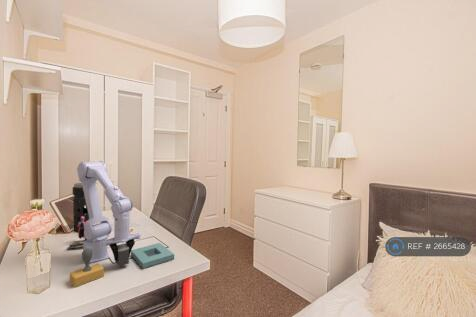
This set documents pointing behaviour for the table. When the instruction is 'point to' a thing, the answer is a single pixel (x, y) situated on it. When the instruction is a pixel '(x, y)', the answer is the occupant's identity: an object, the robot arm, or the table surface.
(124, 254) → the plug
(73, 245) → the statue
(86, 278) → the rubber stamp
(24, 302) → the table surface
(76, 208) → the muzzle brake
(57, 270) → the table surface
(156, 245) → the outlet block
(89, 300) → the table surface
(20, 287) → the table surface
